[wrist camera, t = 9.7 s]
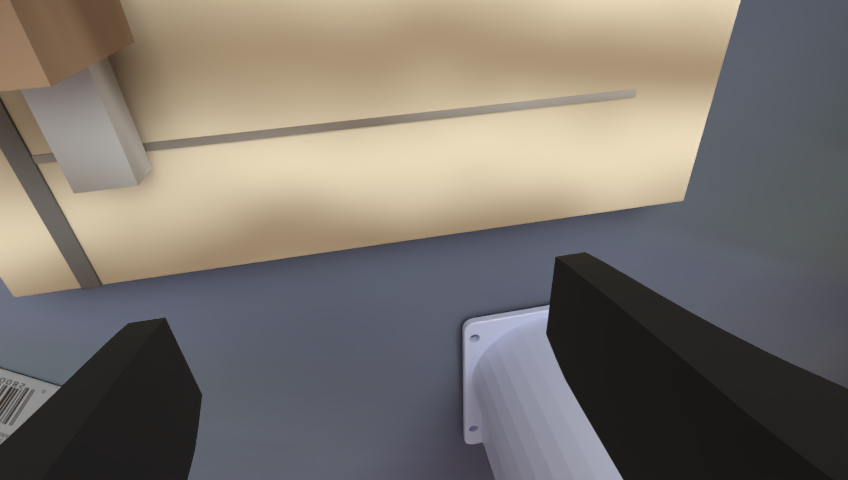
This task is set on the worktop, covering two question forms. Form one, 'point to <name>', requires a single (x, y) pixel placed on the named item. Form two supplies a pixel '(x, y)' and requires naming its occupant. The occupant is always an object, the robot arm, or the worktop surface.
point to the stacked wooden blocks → (74, 86)
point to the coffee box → (20, 400)
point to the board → (364, 129)
